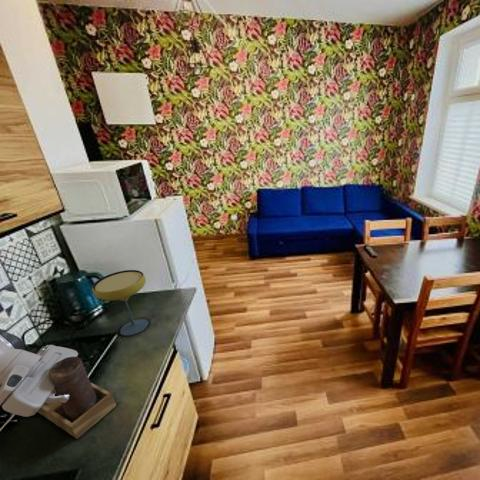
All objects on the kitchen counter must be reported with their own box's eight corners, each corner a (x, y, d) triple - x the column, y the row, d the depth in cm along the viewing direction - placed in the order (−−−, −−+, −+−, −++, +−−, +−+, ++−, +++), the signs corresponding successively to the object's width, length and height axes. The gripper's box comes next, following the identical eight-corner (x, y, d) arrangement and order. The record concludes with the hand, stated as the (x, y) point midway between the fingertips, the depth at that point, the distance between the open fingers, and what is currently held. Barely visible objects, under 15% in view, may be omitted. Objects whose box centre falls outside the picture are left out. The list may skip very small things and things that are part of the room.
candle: (101, 397, 89) (82, 352, 81) (99, 416, 83) (78, 369, 75) (72, 409, 85) (48, 363, 77) (67, 429, 79) (41, 381, 71)
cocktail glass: (101, 344, 111) (80, 294, 102) (122, 316, 128) (106, 271, 118) (148, 338, 115) (132, 289, 105) (163, 312, 131) (150, 268, 121)
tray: (36, 411, 85) (29, 399, 83) (77, 383, 94) (71, 371, 92) (77, 439, 78) (70, 426, 75) (116, 405, 87) (111, 393, 85)
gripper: (39, 350, 83) (87, 366, 89) (-16, 412, 65) (48, 426, 71) (51, 336, 82) (98, 353, 89) (-2, 394, 64) (62, 411, 70)
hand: (76, 386), depth 80 cm, fingers closed on candle, 7 cm apart
